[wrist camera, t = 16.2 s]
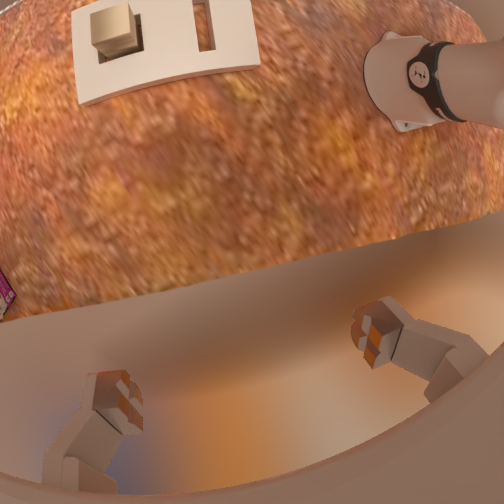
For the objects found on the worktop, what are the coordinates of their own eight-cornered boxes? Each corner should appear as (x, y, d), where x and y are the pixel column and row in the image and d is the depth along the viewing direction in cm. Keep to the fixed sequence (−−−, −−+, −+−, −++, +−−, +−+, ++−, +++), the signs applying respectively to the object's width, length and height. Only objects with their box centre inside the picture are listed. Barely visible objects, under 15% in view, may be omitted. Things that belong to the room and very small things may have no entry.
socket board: (238, -13, 24) (245, -25, 20) (252, 69, 31) (260, 64, 27) (80, 20, 20) (71, 11, 17) (89, 105, 27) (79, 104, 24)
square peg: (139, 29, 24) (128, 1, 16) (142, 54, 26) (130, 32, 18) (110, 37, 24) (90, 14, 15) (113, 62, 26) (91, 44, 17)
